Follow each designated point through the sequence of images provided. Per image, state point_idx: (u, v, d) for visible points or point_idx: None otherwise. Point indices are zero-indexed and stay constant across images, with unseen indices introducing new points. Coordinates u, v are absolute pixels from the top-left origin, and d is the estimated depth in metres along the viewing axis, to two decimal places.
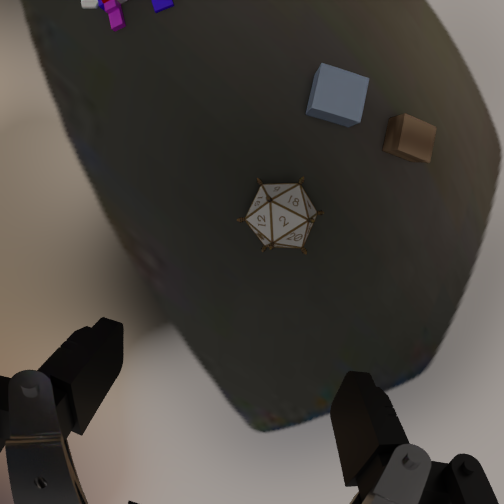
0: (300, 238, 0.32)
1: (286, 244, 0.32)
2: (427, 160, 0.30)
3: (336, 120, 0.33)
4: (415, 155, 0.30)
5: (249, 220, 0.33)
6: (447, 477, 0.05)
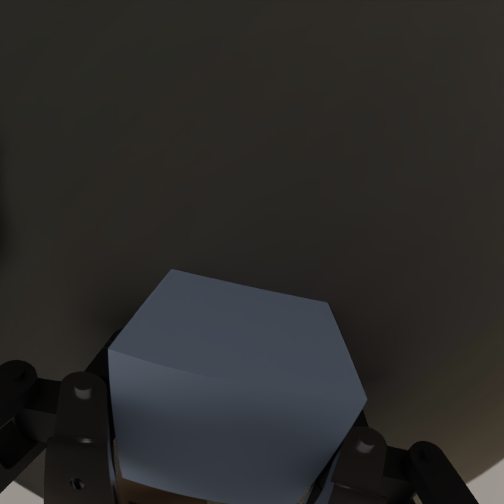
0: None
1: None
2: None
3: None
4: None
5: None
6: (407, 466, 0.06)
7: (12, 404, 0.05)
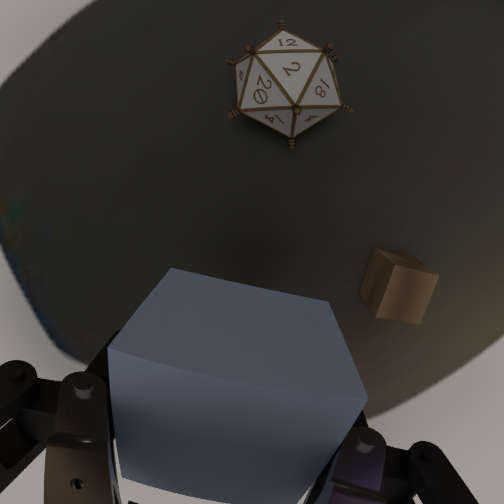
0: (258, 101, 0.18)
1: (248, 78, 0.17)
2: (378, 313, 0.23)
3: None
4: (386, 293, 0.22)
5: (282, 33, 0.17)
6: (407, 467, 0.06)
7: (13, 404, 0.05)
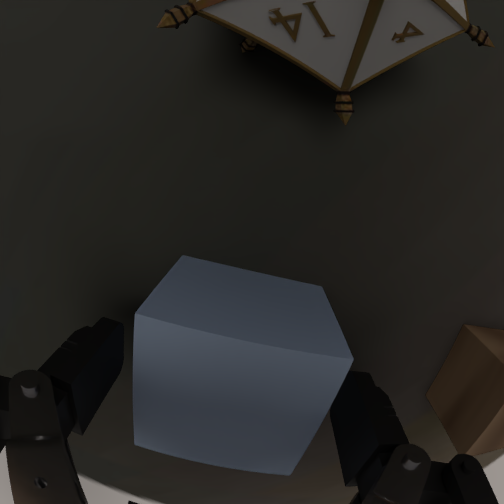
0: None
1: None
2: (467, 452, 0.09)
3: None
4: (489, 425, 0.08)
5: None
6: (447, 477, 0.05)
7: None
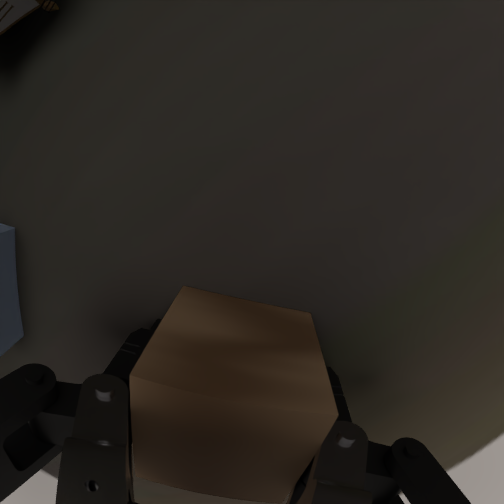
0: None
1: None
2: (139, 471, 0.07)
3: None
4: (137, 440, 0.06)
5: None
6: (390, 464, 0.06)
7: (29, 408, 0.05)
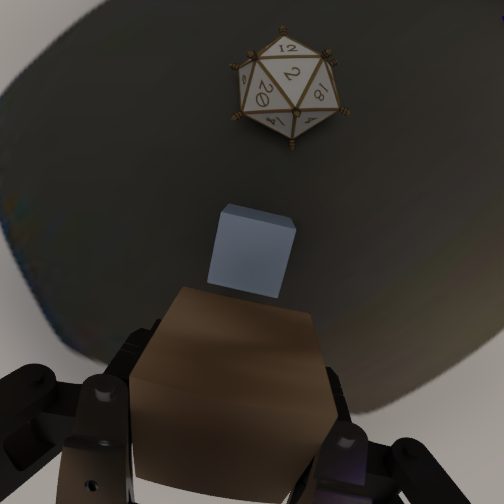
0: (260, 104, 0.19)
1: (250, 82, 0.18)
2: (139, 472, 0.07)
3: None
4: (137, 441, 0.06)
5: (283, 38, 0.18)
6: (390, 464, 0.06)
7: (28, 408, 0.05)
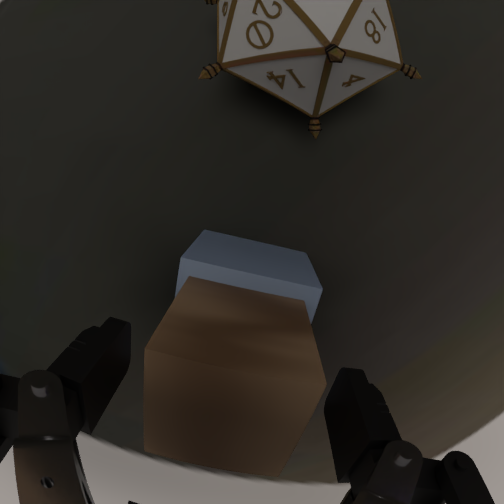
0: (256, 45, 0.08)
1: (236, 5, 0.08)
2: (148, 445, 0.08)
3: None
4: (148, 413, 0.08)
5: None
6: (440, 474, 0.05)
7: None
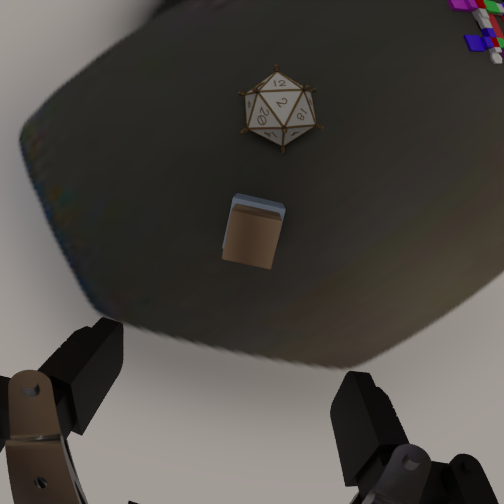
0: (260, 123, 0.28)
1: (254, 108, 0.28)
2: (224, 255, 0.28)
3: None
4: (227, 236, 0.27)
5: (276, 74, 0.27)
6: (447, 477, 0.05)
7: None
